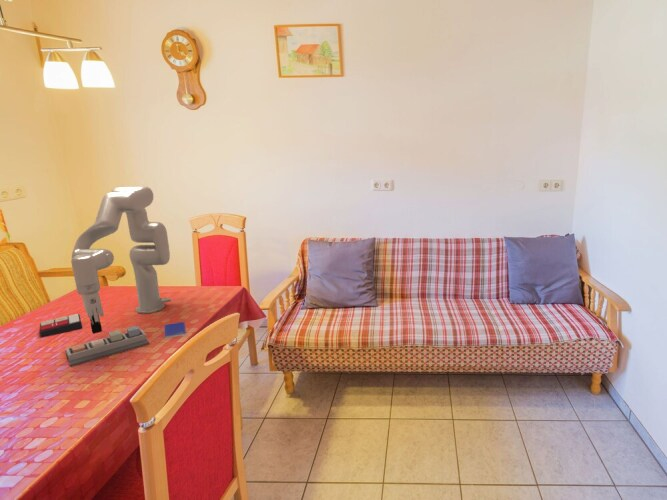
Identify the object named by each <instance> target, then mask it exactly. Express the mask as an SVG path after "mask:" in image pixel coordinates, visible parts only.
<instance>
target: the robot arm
mask: <svg viewBox="0 0 667 500" xmlns="http://www.w3.org/2000/svg"><path fill="white" fill-rule="evenodd" d="M153 201H154V193H153V190H152V188H150V187H148V186H145V185H143V186H141V185H140V186H139V185H137V186H134V185H132V186H116V187H114V188H113V189H112V190H111V192H107V193H105V194H104V195H103V196H102V200H101V203H100V205H99V209H98V212H97V214H96V215H97V216H96V218H95V221H94V223H93V224H92V225H90V226H89V227H88V228H87V229H85V231H83V232H82V233H81V234H80V236H78V237H77V239H76V242H75V244H74V247H73V248H72V249H73V250H72V253H71V261H70V262H71V268H72V272H73V277H74V283H75V287H76V291H77V295H81V297H82V303H83V307H84V311H85V313H86V315H87V317H88V318H89V321H90V329H91V332H92V335H93V334H95V335H96V334H99V333H102V332H103V328H102V323H101V319H100V317H104V315H105V314H104V311H103V306H102V301H101V296H100V293H99V292H100V291H101V285H100V279H99V274H98V272H99V271H101V270H104V269H107V268H109V267H110V266H111V265H112V264H113V263H114V260H115V258H114V257H115V256H114V254H113V252H112V251H111V250H110V249H106V248H91V246H92V245H94V243H96V242H97V241H99V240H101V239H104V238H105V237H108V236H110V235H112V234H114V233H116V232H117V231H118V229H119V226H120V222H121V219H122V215H123V213H125V215H126V219H127V226H128V230H129V231H128V232H129V236H130V239H131V241H132V242H134V243H139V245H134V246H133V247H131V249H130V250H129V255H128V256H129V259H130V262H131V264H132V268H133V272H134V273H133V274H134V280H135V286H136V294H137V300H138V306H136V307H135V311H136V312H137V314H141V315H142V314H153V313H158V312H159V311H162V310H163V309H164V308H165V304H166V303H169V302H172V301H171V300H172V299H171V297H167V296H166V297H162V298H161V297H160V289H159V280H158V273H157V270H156V269H155V267H154V266H163V265H164V266H165V265H167V264H168V263H169V261H170V258H171V253H170V245H169V239H168V237H169V236H168V231H167V229H166V226H165V225H164V224H163V223H162V222H160V221H149V218H148V213H147V212H148V211H147V209H146V208H147V207H149V206H151V204H152V203H153ZM140 243H141V244H140ZM142 243H143V244H142ZM146 243H147V244H146ZM149 243H150V244H149ZM151 243H152V244H151Z"/></svg>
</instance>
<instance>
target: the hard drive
mask: <svg viewBox="0 0 667 500" xmlns="http://www.w3.org/2000/svg"><path fill="white" fill-rule="evenodd" d="M183 336H187V333H186V325H185V321H180V322H176V323H175V322H174V323H168V324H165V325H164V340H165V339H171V338H177V337H183Z"/></svg>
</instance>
